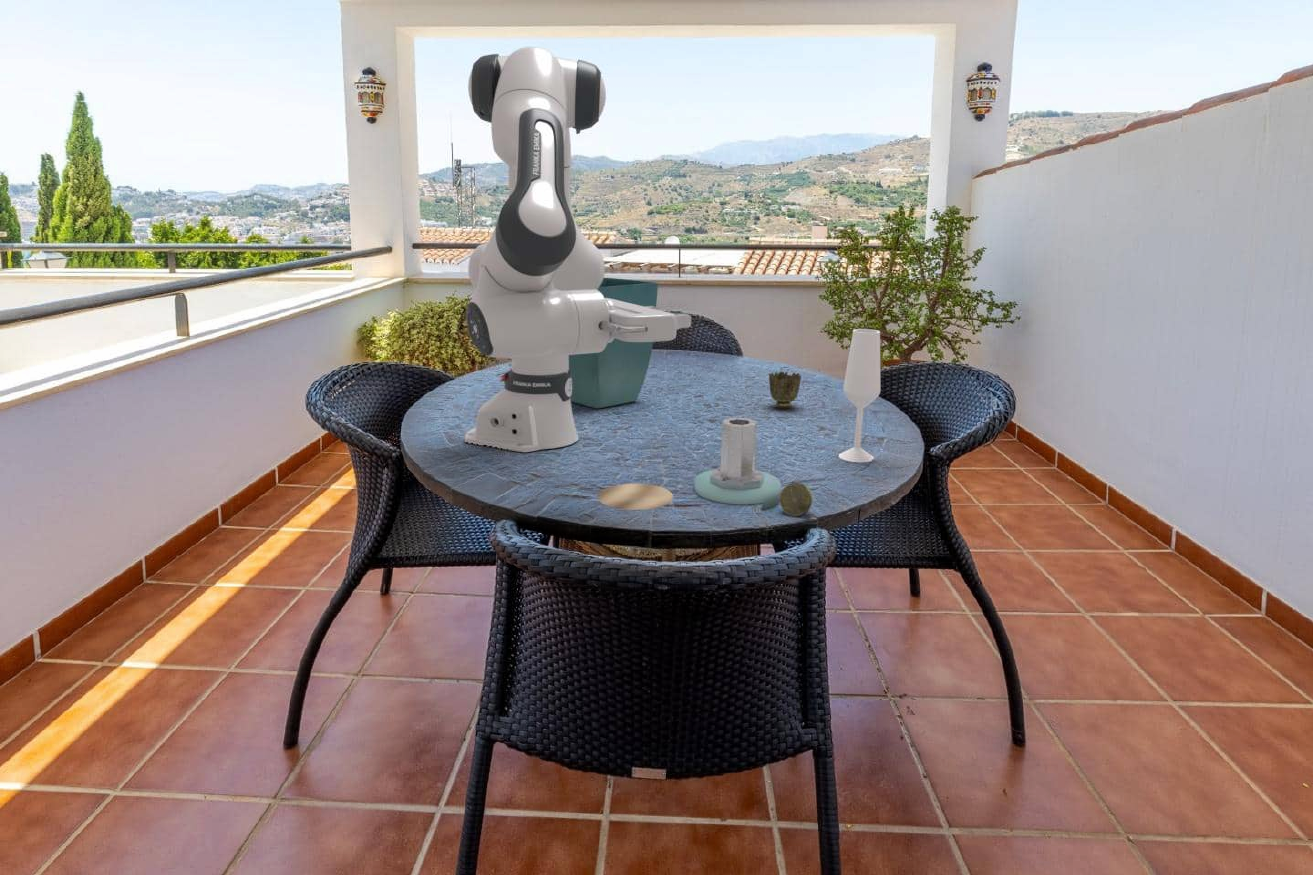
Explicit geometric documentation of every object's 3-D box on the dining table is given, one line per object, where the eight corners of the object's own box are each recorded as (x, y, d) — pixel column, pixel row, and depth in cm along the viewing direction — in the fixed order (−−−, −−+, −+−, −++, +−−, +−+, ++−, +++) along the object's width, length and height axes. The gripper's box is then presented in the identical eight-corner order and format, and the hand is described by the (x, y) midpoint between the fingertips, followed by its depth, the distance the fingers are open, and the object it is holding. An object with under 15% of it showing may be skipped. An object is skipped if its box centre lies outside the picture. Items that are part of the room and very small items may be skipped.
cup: (804, 406, 195) (806, 373, 193) (791, 413, 189) (793, 378, 187) (775, 402, 199) (776, 369, 197) (762, 408, 193) (763, 374, 191)
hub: (685, 506, 131) (686, 466, 129) (704, 478, 144) (705, 442, 142) (774, 515, 127) (776, 475, 125) (785, 486, 140) (787, 449, 138)
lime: (814, 518, 126) (816, 487, 125) (783, 519, 126) (785, 488, 125) (806, 507, 131) (808, 478, 129) (776, 508, 130) (778, 478, 129)
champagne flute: (831, 453, 159) (840, 329, 152) (860, 450, 161) (870, 327, 155) (851, 463, 153) (861, 334, 146) (881, 460, 155) (893, 332, 149)
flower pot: (541, 399, 199) (537, 280, 191) (605, 388, 212) (604, 276, 204) (592, 415, 185) (591, 287, 177) (658, 402, 198) (660, 282, 190)
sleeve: (706, 486, 132) (708, 426, 129) (718, 471, 140) (719, 414, 137) (757, 492, 130) (760, 430, 127) (766, 476, 138) (769, 418, 135)
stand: (586, 512, 128) (586, 504, 127) (611, 487, 139) (611, 480, 139) (662, 520, 125) (662, 513, 124) (680, 494, 136) (680, 487, 136)
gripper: (619, 307, 106) (710, 302, 112) (558, 291, 123) (640, 288, 129) (619, 356, 107) (709, 348, 114) (559, 334, 125) (640, 328, 131)
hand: (672, 316), depth 122 cm, fingers open, 8 cm apart
